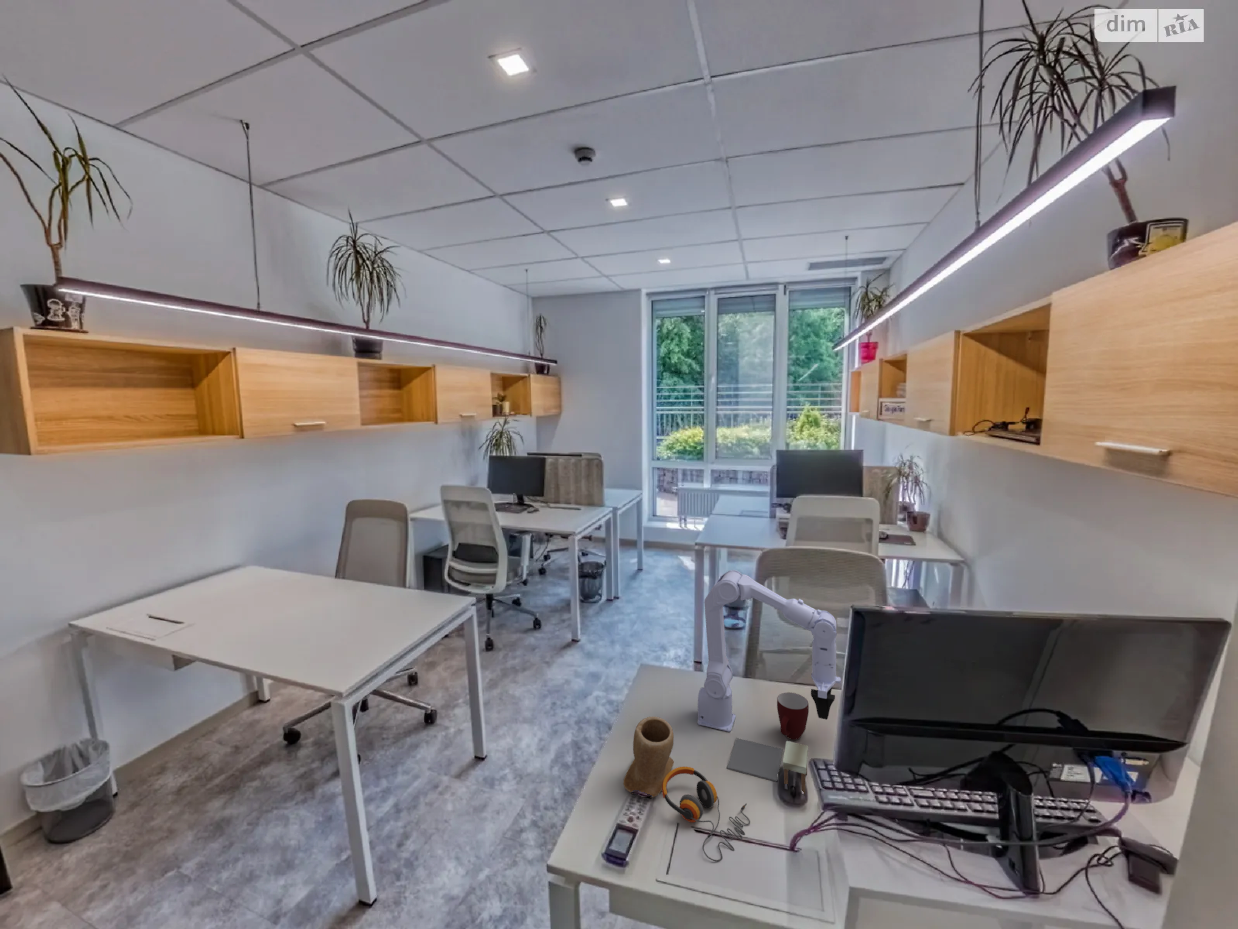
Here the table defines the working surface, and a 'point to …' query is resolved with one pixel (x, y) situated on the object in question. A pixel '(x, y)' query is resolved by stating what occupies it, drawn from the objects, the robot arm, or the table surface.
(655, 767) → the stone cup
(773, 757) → the mat
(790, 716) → the mug
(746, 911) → the table surface
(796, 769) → the stool
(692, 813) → the headphones
